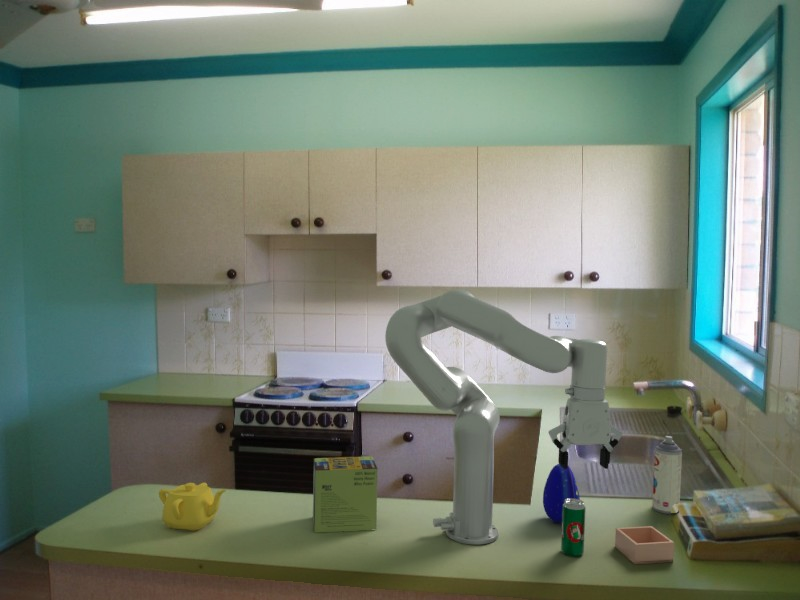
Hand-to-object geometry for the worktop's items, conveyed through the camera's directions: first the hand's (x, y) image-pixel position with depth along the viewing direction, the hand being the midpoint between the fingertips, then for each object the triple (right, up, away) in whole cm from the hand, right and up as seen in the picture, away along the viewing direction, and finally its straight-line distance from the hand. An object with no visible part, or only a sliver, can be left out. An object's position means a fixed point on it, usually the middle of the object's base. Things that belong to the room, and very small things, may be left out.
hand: (583, 467), depth 157 cm
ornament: (-1, -19, +18) cm, 26 cm away
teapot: (-93, -17, +11) cm, 96 cm away
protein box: (-56, -18, +14) cm, 61 cm away
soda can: (-3, -20, -1) cm, 20 cm away
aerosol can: (+30, -18, +27) cm, 44 cm away
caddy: (+13, -20, -1) cm, 24 cm away
